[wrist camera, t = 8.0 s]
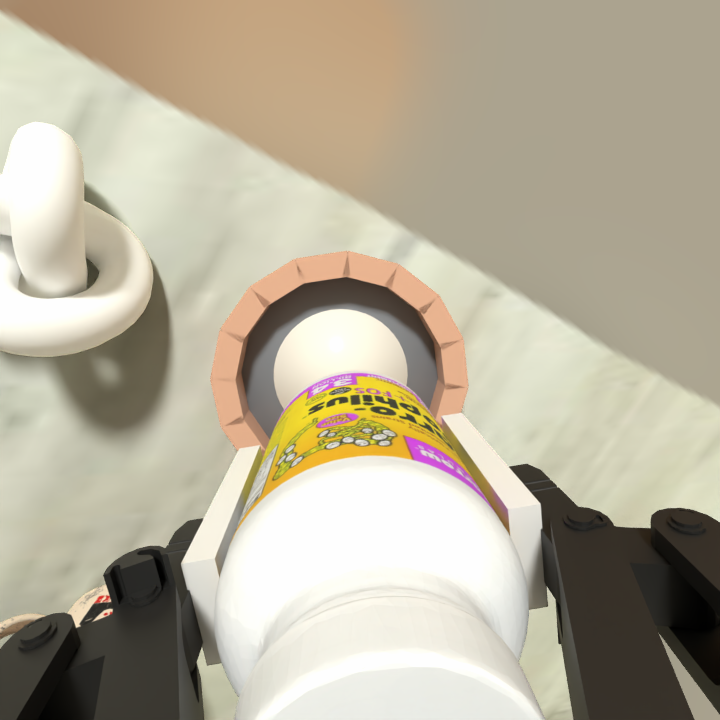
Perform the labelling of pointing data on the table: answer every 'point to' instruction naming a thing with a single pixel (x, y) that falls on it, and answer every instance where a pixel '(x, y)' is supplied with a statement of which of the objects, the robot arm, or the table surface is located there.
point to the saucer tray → (332, 340)
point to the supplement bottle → (370, 571)
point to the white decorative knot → (62, 253)
